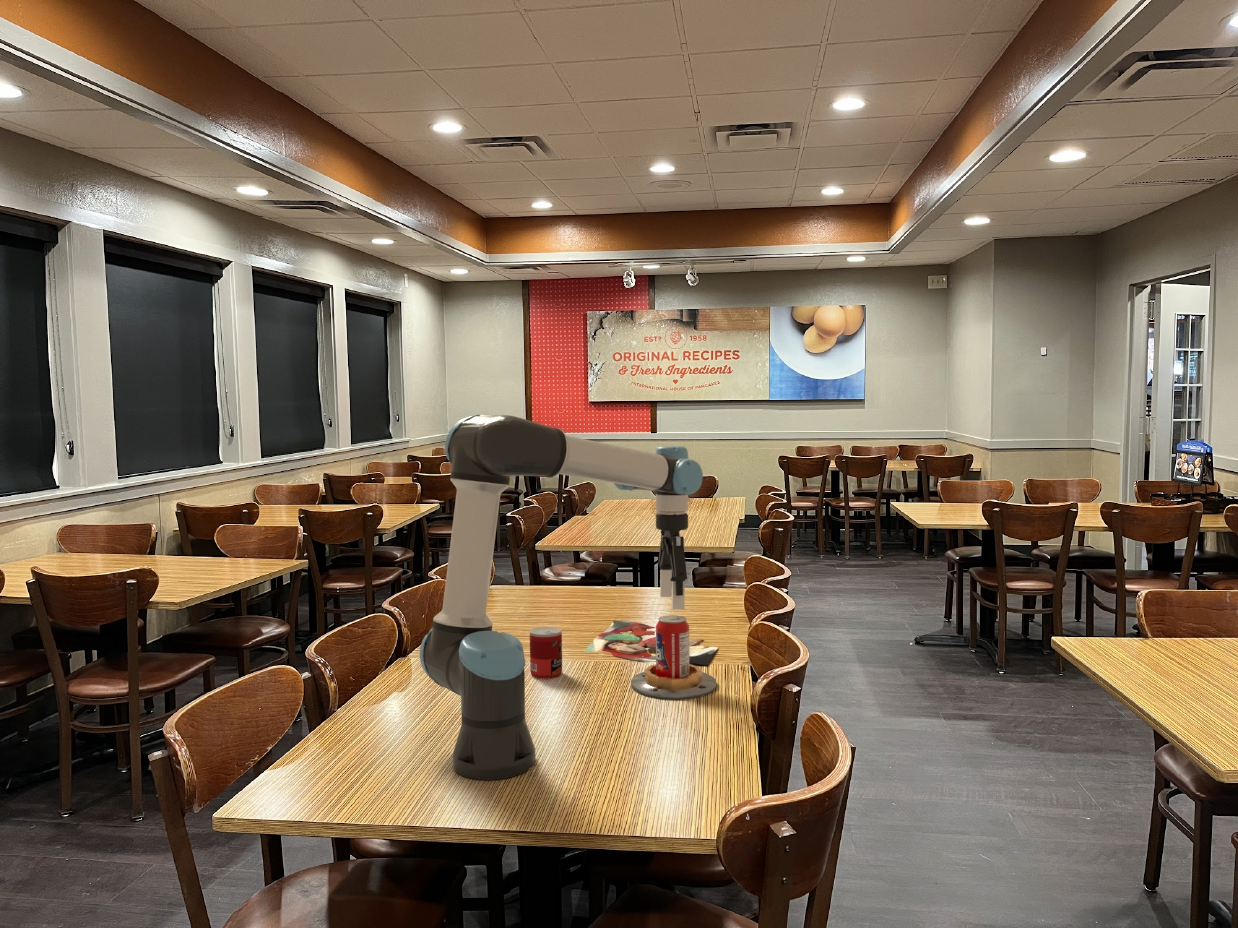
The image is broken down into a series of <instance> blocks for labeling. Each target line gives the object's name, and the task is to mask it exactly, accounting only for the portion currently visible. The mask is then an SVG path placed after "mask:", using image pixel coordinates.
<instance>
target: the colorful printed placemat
mask: <svg viewBox="0 0 1238 928" xmlns="http://www.w3.org/2000/svg"><path fill="white" fill-rule="evenodd" d="M647 629H648V630H647ZM652 629H656V626H651V625H648V624H645V623H642V622H641V623H640V622H636V621H628V620H627V621H625V620H613V621H612V622H611V624H610V625H609V626H608V628H606V630H605V631H603V632H601V633H598V635H597V636H596V637H595V638H594V639H593V640H592V641H591V642H590V644H589V645H588V646H587V647H586V649H585V650H584V651H583V652H584V653H587V652H589V653H590V652H592V653H593V652H605V653H610V654H611V655H612V656H613V657H615V658H617V659H621V658H622V660H627V661H628V660H630V661H629V662H634V661H636V662H645V663H656V635H655V634H656V633H655V632H656V630H652ZM628 631H632V632H631V633H629V632H628ZM689 631H691V629H690V628H689ZM620 632H626V633H623V634H622V633H620ZM633 634H634V635H633ZM644 636H654V637H649V638H647V639H644V640H643V637H644ZM704 642H705V640H704V639H699V638H697V639H692V640H689V655H690V664H693V665H702V666H703V665H704V666H708V665H709V664H710V661H711V660H712V658H713V656H714V655H715V653H716V651H717V650H718V649H719V647H716V646H707V645H701V644H702V643H704Z"/></svg>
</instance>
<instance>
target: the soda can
mask: <svg viewBox="0 0 1238 928" xmlns="http://www.w3.org/2000/svg"><path fill="white" fill-rule="evenodd" d="M655 627H656V628H655V632H656V633H655V634H656V635H655V637H656V662H655V664H656V676H659V677H667V678H682V677H688V676H690V664H691V663H690V655H689V654H690V653H689V642H690V630H689V629H690V624H689V623H688V622H687V618H686V617H685V616H681V615H675V614H674V615H672V614H671V615H669V614H668V615H662V616H660V617H659V618H658V622H657V623H656V624H655Z"/></svg>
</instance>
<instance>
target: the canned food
mask: <svg viewBox="0 0 1238 928" xmlns="http://www.w3.org/2000/svg"><path fill="white" fill-rule="evenodd" d="M562 632H563V631H562V629H561V628H560V627H559V628H558V627H554V626H539V627H538V626H537V627H534V628H532V629H530V630H529V671H530V674H531V676H532V677H534V678H535V677H536V679H540V678H542V679H541V680H546V679H548V678H550V679H555V677H556V678H559V677H560V676H561V675H562V673H563V637H562V636H563V634H562ZM543 678H544V679H543ZM548 680H549V679H548Z"/></svg>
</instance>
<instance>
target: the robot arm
mask: <svg viewBox="0 0 1238 928" xmlns="http://www.w3.org/2000/svg"><path fill="white" fill-rule="evenodd" d="M444 452H445V456H446V459H447V460H448V462H449V463H450V465H451V470H450V472H451V473H450V482H451V483H452V484H453V486H454V487H455V488H456V494H455V503H454V510H453V511H454V512H453V517H452V518H453V521H452V528H451V538H450V544H449V545H450V546H449V552H448V560H447V569H446V577H445V584H444V585H445V587H444V593H443V594H444V595H443V601H442V609H441V611H440V612H439V613H437V614H436V615H435V616H434V617H433V618H432V619H433V621H432V626H431V629H429V632H428V633H426V635H425V636H424V637H423V638H422V641H421V644H420V648H419V661H420V664H421V665H420V666H421V668H422V669H423V671H424V673H425V674H426V675H427V676H428V677H429V678H430V679H431V680H432V681H433V682H434V683H435V684H437V685H438V686H439V687H442V688H445V689H447V690H449V691H450V692H452V693H454V694H456V695H458V696H460V701H461V702H460V706H461V707H460V711H461V724H460V728H459V732H458V736H457V739H456V742H455V746H454V748H453V753H452V768H453V771H454V772H455V773H456V774H458V775H460V776H462V777H465V778H467V779H473V780H480V781H482V780H484V781H491V780H502V779H507V778H508V779H509V778H512V777H515V776H518V775H521V774H523V773H525V772H528V771H529V770H530V769H531V768H533V766H535V764H536V748H535V743H534V741H533V738H532V735H531V733H530V730H529V727H528V725H527V724H528V723H527V721H526V701H525V700H526V693H525V692H526V691H525V689H526V687H525V680H526V679H525V678H526V677H525V666H526V658H525V653H524V646H523V643H522V642H521V640H520V639H519V638H518V637H516V636H515V635H512V634H510V633H508V632H502V631H501V632H498V631H496V630H493V621H492V620H491V619H490V618H489V616H488V614H487V610H488V609H487V608H488V599H489V592H490V584H491V577H492V575H491V574H492V569H493V559H494V552H495V551H494V549H495V541H496V533H497V525H498V518H499V509H500V501H501V495H502V493H503V492H504V491H506V490H507V489H508V488H509V487H510V482H511V481H510V480H511V477H519V476H520V477H523V476H524V477H525V476H526V477H527V476H529V477H543V478H554V477H557V476H559V475H564V476H570V477H575V478H580V479H587V480H592V481H594V480H595V481H600V482H604V483H605V482H606V483H610V484H611V483H612V484H613V485H615V487H616V488H617V489H619V490H621V491H631V492H632V491H635V490H637V491H639V490H641V491H650V492H655V511H656V512H657V513H656V514H655V529H657V530H658V531H660V545H659V553H658V562H657V564H658V566H659V569H660V571H659V573H660V575H659V576H660V577H659V578H660V579H659V584H660V585H659V587H660V589H659V591H660V598H668V597H669V598H671V609H672V610H674V611H675V610H685V586H686V585H685V581H686V580H687V579H688V575H687V566H686V565H687V564H686V555H685V554H686V552H685V538H684V536H681V535H680V532H681V531H686V530H687V529H688V528H689V514H688V513H686V512H687V511H689V503H690V502H691V498H690V497H689V495H692V494H694V493H697V491H699V489H700V488H701V486H702V483H703V477H704V475H703V469H702V467H701V464H699V462H697V461H696V460H694V459H692V458H691V459H690V458H689V451H688V448H687V447H685V446H677V445H666V446H665V445H663V446H657V447H656V449H655V453H653V452H648V451H644V450H638V449H636V448H635V449H634V448H629V447H625V446H619V445H615V444H610V443H603V442H600V441H594V440H590V439H586V438H580V437H575V436H570V435H566V432H564V430H562V429H561V428H558V427H552V426H549V425H545V424H542V423H539V422H534V421H532V420H529V419H525V418H522V417H517V416H515V415H508V414H501V415H496V414H495V415H492V414H475V415H471V416H467V417H463V418H462V419H460V420H459V421H457V422H456V423H455V424H453V426H452V427H451V428H450V430H449V431H448V433H447V435H446V439H445V443H444Z"/></svg>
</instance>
